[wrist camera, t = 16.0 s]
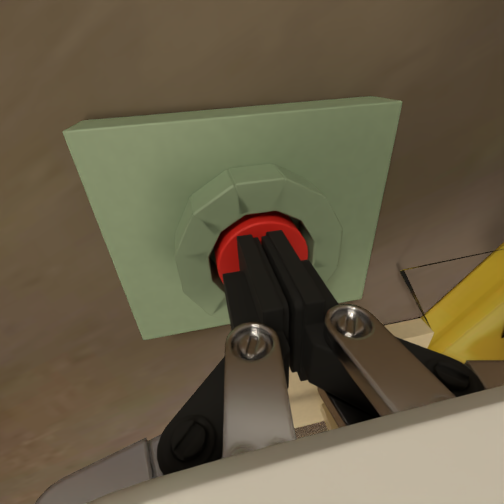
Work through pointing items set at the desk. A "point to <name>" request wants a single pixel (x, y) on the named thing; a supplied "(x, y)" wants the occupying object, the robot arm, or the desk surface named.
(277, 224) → the button
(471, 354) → the vintage telephone
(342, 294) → the block
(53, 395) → the desk surface
